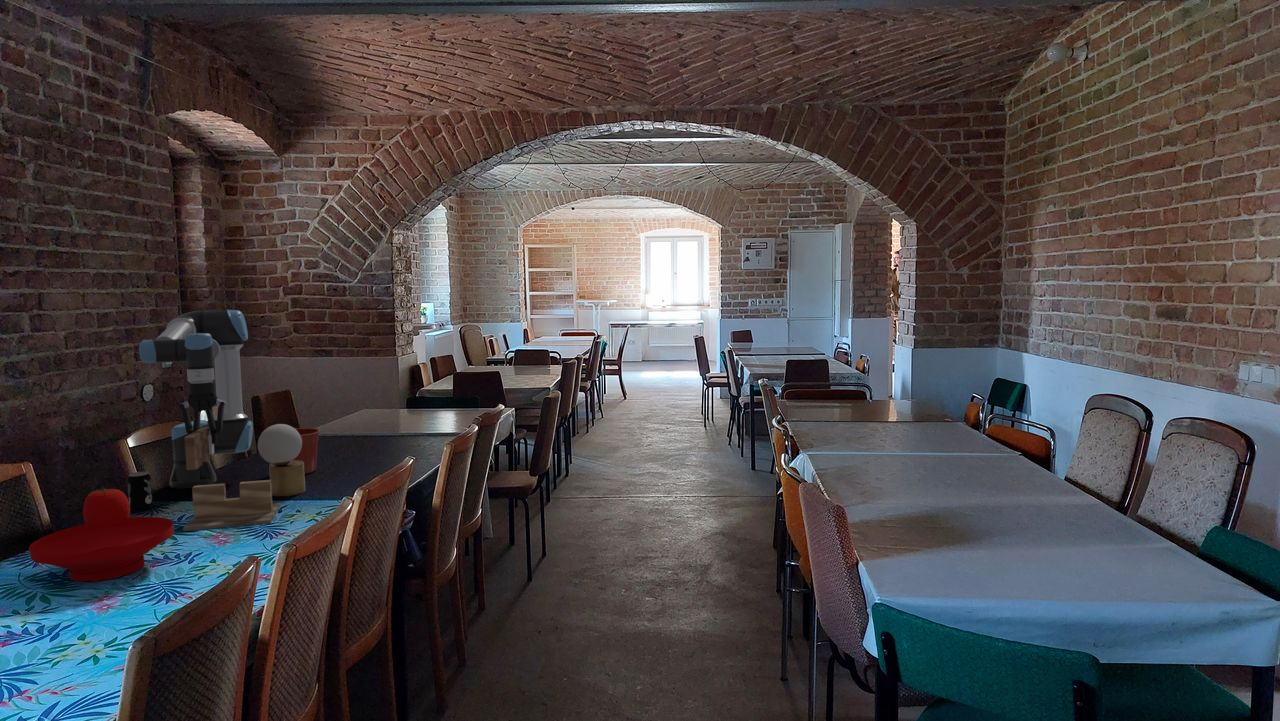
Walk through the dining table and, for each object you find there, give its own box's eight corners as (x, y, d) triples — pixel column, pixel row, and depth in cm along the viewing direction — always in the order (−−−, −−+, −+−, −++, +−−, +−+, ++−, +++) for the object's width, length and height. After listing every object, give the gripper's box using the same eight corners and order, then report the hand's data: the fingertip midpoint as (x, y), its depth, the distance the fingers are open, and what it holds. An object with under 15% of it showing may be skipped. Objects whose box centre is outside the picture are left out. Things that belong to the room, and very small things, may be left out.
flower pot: (311, 476, 298) (309, 435, 296) (269, 476, 298) (266, 436, 297) (329, 466, 314) (326, 427, 313) (289, 467, 315) (286, 428, 313)
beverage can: (141, 512, 252) (138, 476, 251) (124, 511, 254) (121, 475, 253) (158, 506, 259) (155, 471, 258) (141, 505, 260) (138, 470, 259)
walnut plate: (203, 457, 250) (201, 427, 249) (212, 457, 250) (210, 426, 250) (186, 470, 233) (184, 437, 232) (195, 469, 233) (193, 436, 232)
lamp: (283, 501, 263) (279, 428, 261) (251, 498, 268) (246, 426, 265) (315, 489, 278) (312, 421, 275) (284, 487, 282) (280, 419, 280)
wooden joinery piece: (199, 512, 251) (197, 479, 250) (280, 505, 258) (278, 473, 257) (183, 531, 232) (180, 495, 231) (270, 522, 239) (268, 488, 238)
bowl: (202, 557, 209) (199, 521, 208) (90, 600, 180) (86, 559, 179) (120, 546, 218) (118, 512, 218) (2, 586, 190) (-2, 546, 189)
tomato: (74, 537, 227) (70, 490, 226) (112, 526, 238) (108, 481, 236) (104, 541, 223) (100, 493, 222) (141, 529, 233) (138, 484, 232)
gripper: (170, 384, 240) (175, 458, 243) (225, 381, 244) (230, 454, 247) (177, 381, 248) (182, 453, 250) (231, 379, 252) (235, 450, 254)
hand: (206, 454), depth 248 cm, fingers closed on walnut plate, 2 cm apart
